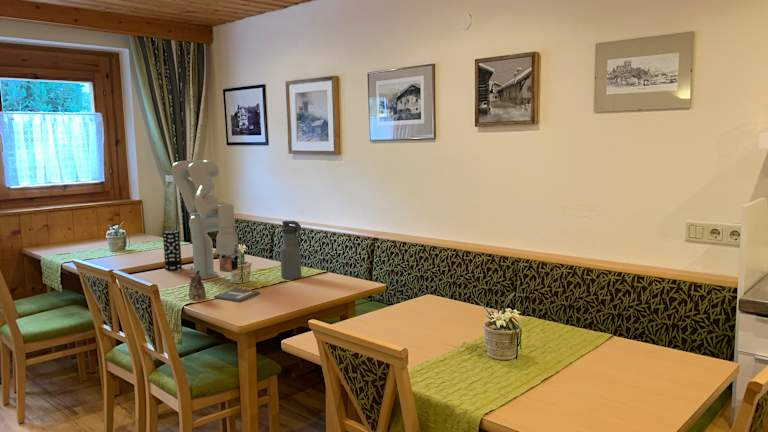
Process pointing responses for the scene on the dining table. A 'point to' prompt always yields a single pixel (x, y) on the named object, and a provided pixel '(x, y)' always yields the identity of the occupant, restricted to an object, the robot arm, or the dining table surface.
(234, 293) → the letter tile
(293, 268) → the water bottle
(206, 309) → the dining table surface
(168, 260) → the white-spotted black cylinder
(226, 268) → the block
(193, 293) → the figurine
